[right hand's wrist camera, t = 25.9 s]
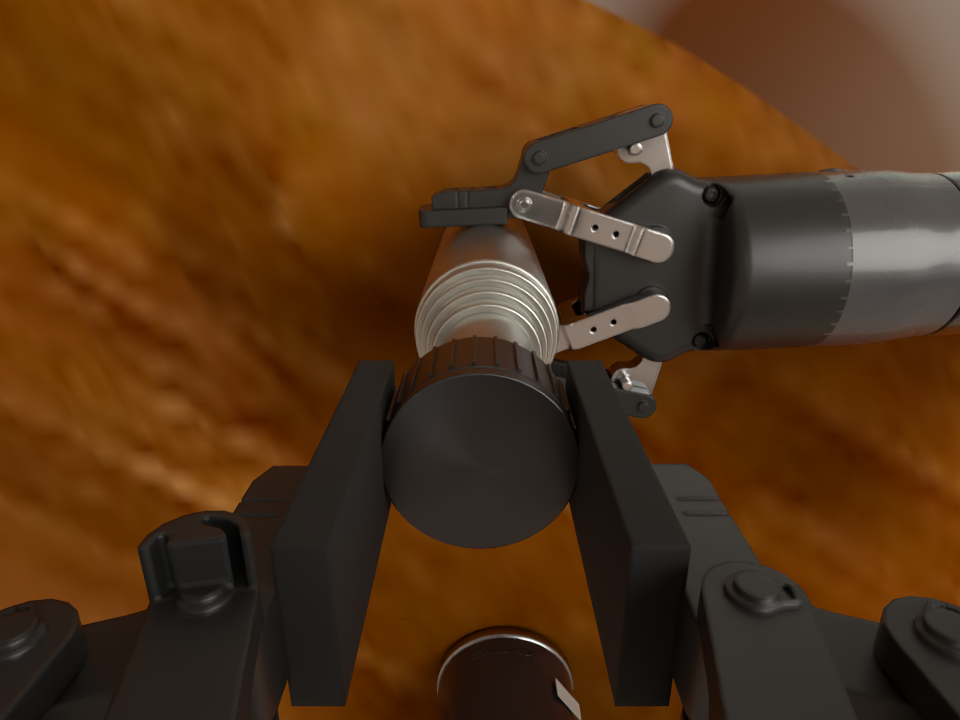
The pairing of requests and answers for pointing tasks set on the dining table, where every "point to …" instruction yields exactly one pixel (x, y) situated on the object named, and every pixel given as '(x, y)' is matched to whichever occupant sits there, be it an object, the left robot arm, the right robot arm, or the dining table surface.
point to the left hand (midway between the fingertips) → (427, 278)
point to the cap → (480, 444)
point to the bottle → (487, 291)
